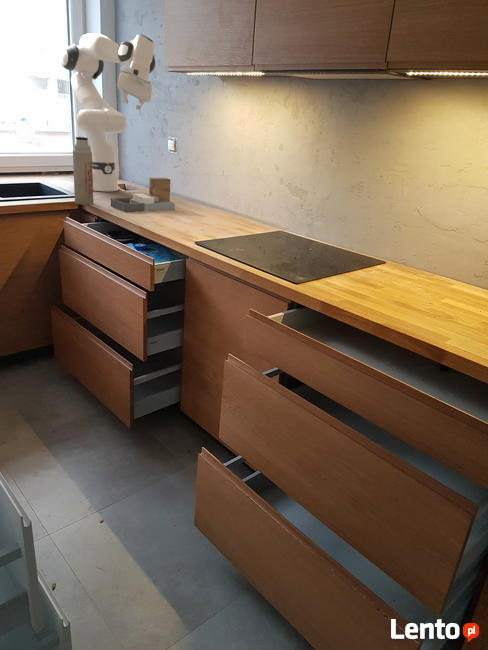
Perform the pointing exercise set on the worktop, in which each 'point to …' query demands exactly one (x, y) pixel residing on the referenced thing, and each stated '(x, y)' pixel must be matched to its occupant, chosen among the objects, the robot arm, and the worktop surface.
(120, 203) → the tray
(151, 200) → the tile
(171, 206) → the board
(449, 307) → the worktop surface
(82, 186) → the thermos bottle
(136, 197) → the tile
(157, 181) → the brown boxy piece
